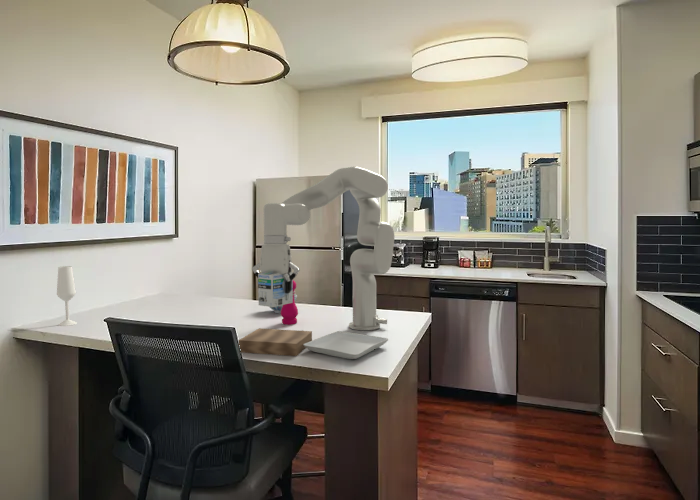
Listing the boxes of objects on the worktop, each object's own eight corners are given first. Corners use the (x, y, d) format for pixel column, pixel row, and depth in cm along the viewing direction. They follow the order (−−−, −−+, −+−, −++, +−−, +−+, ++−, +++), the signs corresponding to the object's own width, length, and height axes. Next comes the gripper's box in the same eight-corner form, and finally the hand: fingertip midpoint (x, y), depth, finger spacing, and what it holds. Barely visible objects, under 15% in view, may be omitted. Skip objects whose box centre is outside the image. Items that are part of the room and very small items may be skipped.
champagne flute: (71, 321, 187) (69, 265, 186) (80, 323, 184) (78, 266, 182) (54, 324, 181) (52, 267, 180) (63, 326, 178) (60, 268, 176)
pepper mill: (294, 325, 179) (294, 277, 178) (278, 324, 181) (277, 276, 179) (300, 321, 186) (300, 274, 185) (284, 320, 188) (283, 274, 187)
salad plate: (301, 353, 143) (301, 343, 142) (338, 338, 160) (338, 329, 160) (356, 365, 131) (356, 354, 131) (389, 348, 149) (389, 338, 149)
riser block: (311, 342, 154) (311, 331, 154) (296, 356, 139) (296, 343, 139) (259, 339, 159) (259, 328, 158) (238, 352, 143) (238, 340, 143)
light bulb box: (273, 307, 141) (272, 274, 141) (257, 305, 145) (257, 273, 144) (293, 302, 151) (293, 271, 150) (278, 300, 154) (278, 270, 153)
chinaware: (258, 312, 205) (257, 296, 204) (280, 307, 217) (280, 291, 217) (281, 316, 196) (281, 299, 196) (303, 310, 209) (303, 294, 208)
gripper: (303, 240, 148) (304, 291, 149) (255, 239, 152) (256, 289, 153) (296, 241, 141) (296, 295, 142) (246, 240, 145) (247, 293, 146)
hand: (275, 292), depth 147 cm, fingers closed on light bulb box, 8 cm apart
